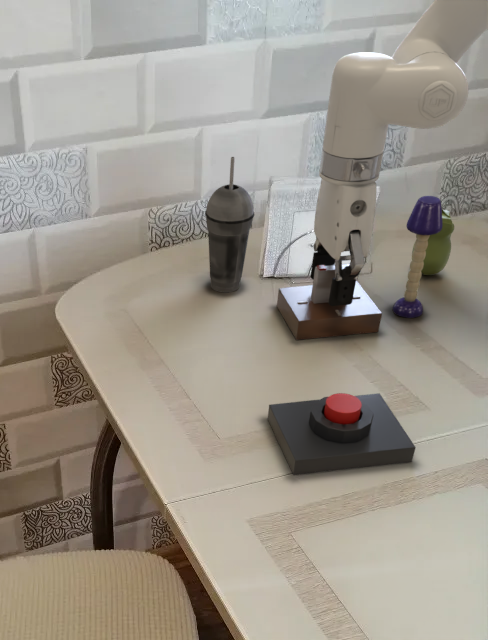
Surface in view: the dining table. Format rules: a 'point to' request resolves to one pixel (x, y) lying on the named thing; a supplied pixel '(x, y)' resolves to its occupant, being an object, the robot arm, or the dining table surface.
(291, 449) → the device
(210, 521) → the dining table surface
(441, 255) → the pear
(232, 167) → the beverage cup
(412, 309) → the toy lamp
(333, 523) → the dining table surface
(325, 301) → the grey upright block
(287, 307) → the brown wooden base
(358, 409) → the power button
